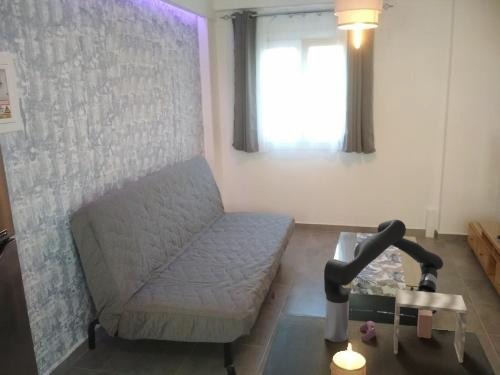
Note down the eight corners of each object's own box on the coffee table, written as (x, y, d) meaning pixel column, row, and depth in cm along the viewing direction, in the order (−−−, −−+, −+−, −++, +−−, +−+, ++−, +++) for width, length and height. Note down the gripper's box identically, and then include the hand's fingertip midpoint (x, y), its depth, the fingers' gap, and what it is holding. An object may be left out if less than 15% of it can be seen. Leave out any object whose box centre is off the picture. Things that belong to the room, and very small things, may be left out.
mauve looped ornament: (370, 345, 184) (379, 332, 182) (360, 340, 184) (369, 326, 183) (368, 333, 194) (376, 320, 192) (358, 328, 194) (366, 315, 192)
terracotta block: (418, 337, 187) (419, 314, 185) (417, 331, 192) (418, 309, 190) (431, 338, 186) (432, 316, 184) (429, 332, 191) (431, 310, 189)
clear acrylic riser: (394, 353, 175) (396, 303, 171) (393, 336, 188) (396, 289, 183) (462, 363, 169) (467, 310, 164) (457, 344, 181) (461, 295, 177)
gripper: (413, 274, 208) (408, 297, 195) (446, 284, 203) (442, 308, 190) (409, 286, 212) (404, 309, 199) (441, 296, 207) (438, 320, 194)
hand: (423, 308), depth 195 cm, fingers open, 8 cm apart
